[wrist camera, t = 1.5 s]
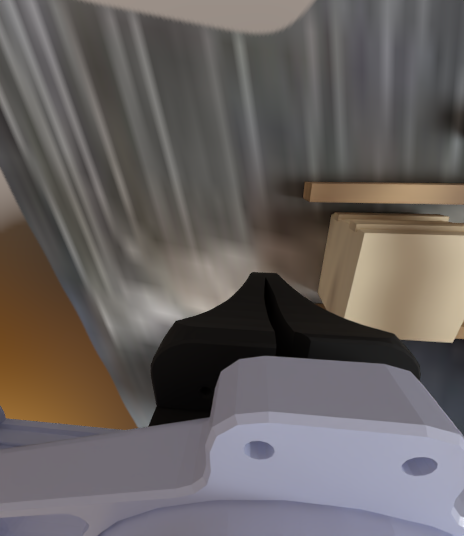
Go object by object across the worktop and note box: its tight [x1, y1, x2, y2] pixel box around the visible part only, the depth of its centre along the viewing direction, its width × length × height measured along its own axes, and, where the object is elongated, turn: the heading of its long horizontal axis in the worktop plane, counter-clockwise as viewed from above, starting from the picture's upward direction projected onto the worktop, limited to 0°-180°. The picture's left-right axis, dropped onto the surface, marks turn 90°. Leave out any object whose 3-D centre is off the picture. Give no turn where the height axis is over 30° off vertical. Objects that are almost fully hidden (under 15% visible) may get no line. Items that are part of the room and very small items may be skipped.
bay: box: [303, 182, 464, 339], centre depth 14 cm, size 18×10×3 cm, turn 90°
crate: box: [318, 212, 464, 343], centre depth 14 cm, size 6×6×5 cm
